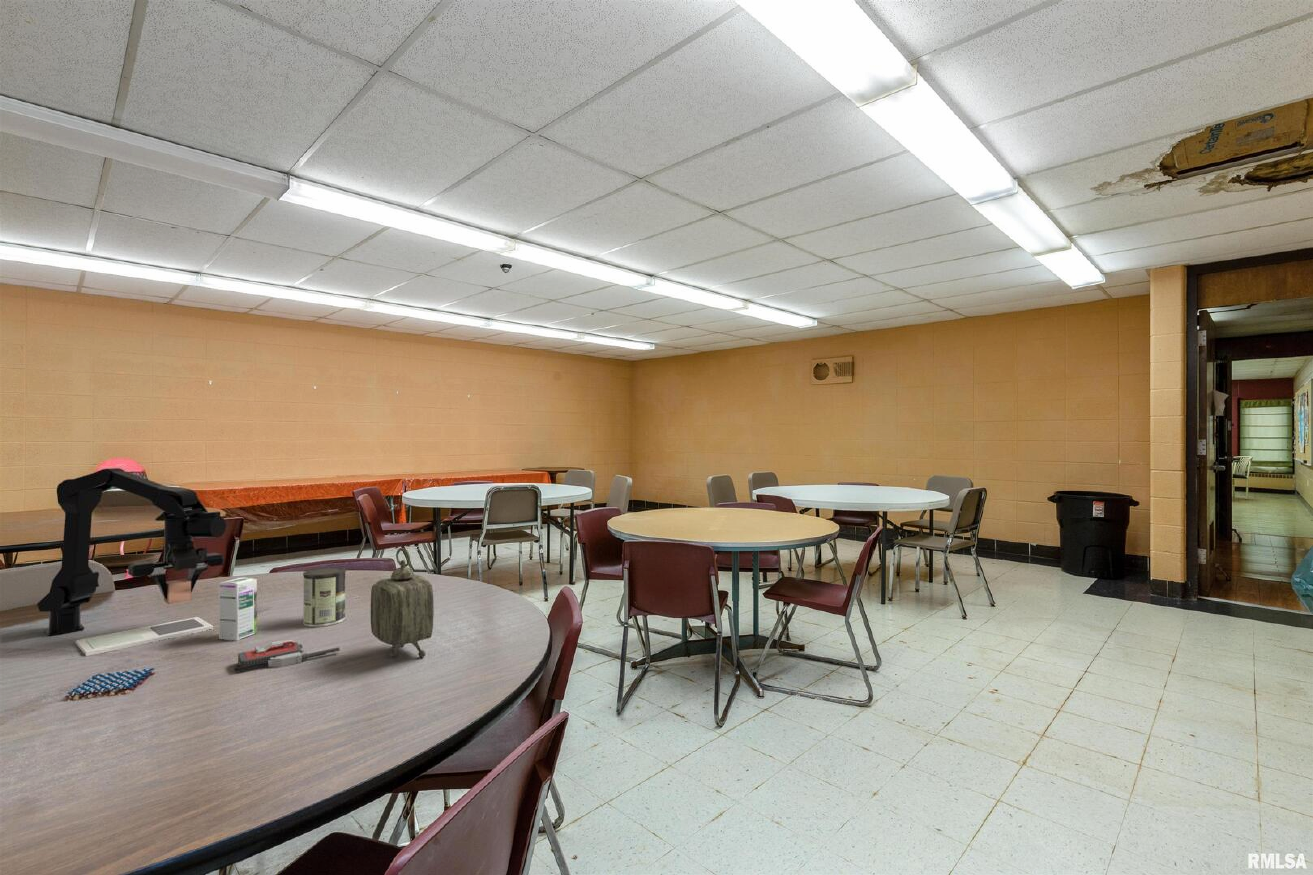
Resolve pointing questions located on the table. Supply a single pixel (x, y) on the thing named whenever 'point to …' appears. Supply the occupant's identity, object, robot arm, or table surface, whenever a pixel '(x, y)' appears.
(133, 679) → the woven mat
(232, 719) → the table surface
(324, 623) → the coffee can
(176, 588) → the terracotta block
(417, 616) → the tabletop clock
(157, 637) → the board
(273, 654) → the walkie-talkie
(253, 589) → the syrup box
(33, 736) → the table surface
